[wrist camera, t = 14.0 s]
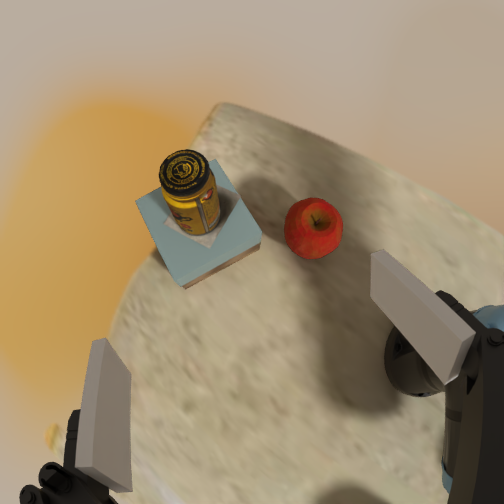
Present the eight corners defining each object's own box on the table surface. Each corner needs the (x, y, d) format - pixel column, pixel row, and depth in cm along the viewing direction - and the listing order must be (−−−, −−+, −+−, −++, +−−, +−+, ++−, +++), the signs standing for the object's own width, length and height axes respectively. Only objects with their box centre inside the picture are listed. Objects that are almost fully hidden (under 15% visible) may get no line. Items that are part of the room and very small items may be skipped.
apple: (271, 223, 50) (279, 194, 40) (319, 212, 51) (338, 182, 41) (287, 274, 48) (300, 256, 38) (336, 260, 49) (360, 239, 39)
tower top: (217, 174, 48) (215, 158, 44) (260, 242, 45) (262, 232, 41) (143, 212, 46) (135, 200, 42) (180, 286, 43) (174, 281, 39)
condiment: (163, 224, 41) (137, 182, 29) (196, 175, 43) (183, 122, 31) (209, 249, 40) (197, 213, 29) (241, 196, 42) (242, 146, 31)
